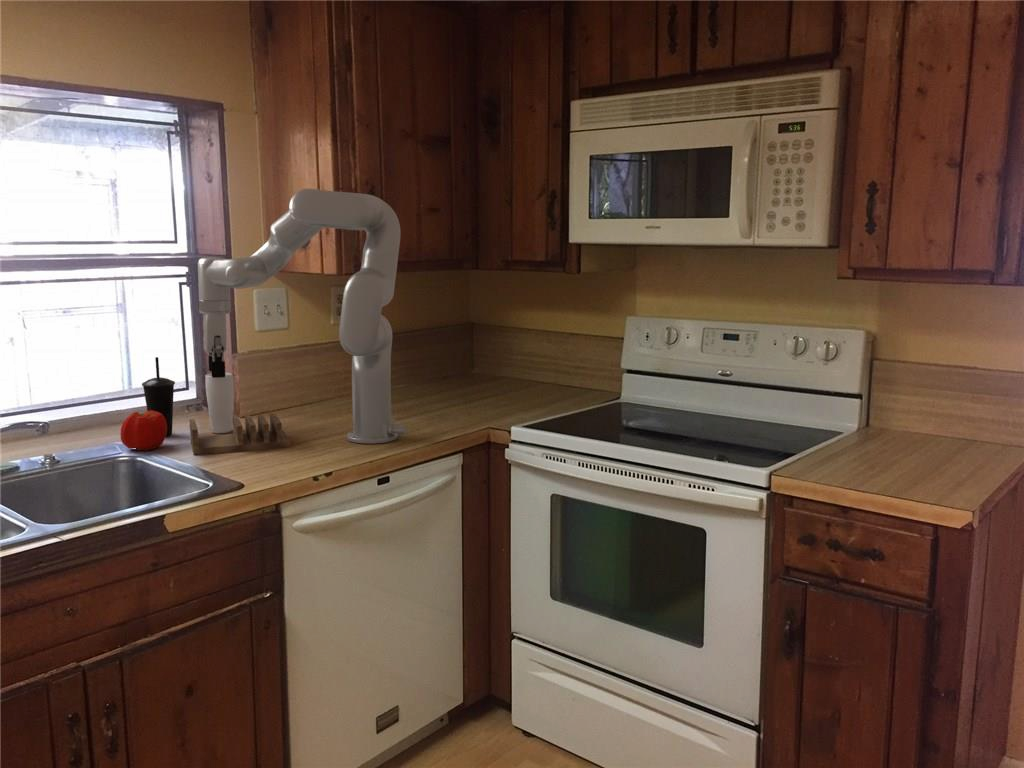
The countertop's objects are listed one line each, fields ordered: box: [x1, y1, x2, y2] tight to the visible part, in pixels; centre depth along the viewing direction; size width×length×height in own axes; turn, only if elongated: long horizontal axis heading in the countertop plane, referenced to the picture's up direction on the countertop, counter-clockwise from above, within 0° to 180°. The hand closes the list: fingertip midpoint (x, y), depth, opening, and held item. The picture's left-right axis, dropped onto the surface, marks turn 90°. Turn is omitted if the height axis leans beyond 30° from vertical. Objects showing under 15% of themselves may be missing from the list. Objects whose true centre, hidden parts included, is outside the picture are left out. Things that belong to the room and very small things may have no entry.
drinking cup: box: [141, 356, 176, 438], centre depth 214 cm, size 8×8×20 cm
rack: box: [189, 412, 291, 456], centre depth 207 cm, size 22×12×6 cm, turn 113°
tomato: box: [120, 410, 167, 451], centre depth 203 cm, size 11×11×9 cm
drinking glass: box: [204, 372, 235, 435], centre depth 220 cm, size 7×7×15 cm
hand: (216, 373), depth 218 cm, fingers open, 9 cm apart
